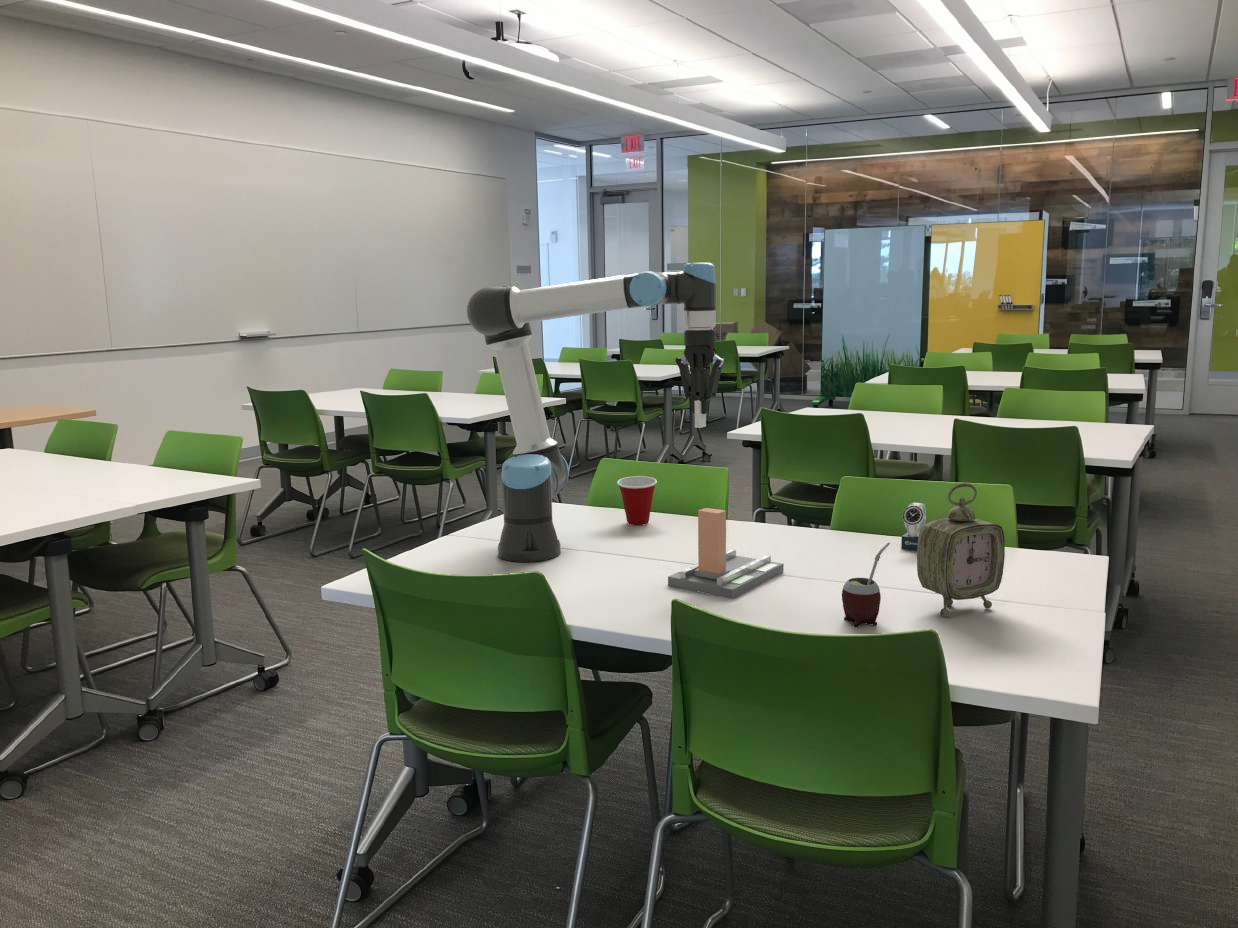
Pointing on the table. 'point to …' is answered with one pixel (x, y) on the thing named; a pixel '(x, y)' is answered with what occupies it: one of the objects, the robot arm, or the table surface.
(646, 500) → the plastic cup
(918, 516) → the watch
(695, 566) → the switch panel
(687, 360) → the robot arm
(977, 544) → the tabletop clock
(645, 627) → the table surface
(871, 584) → the mate gourd
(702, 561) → the switch lever
